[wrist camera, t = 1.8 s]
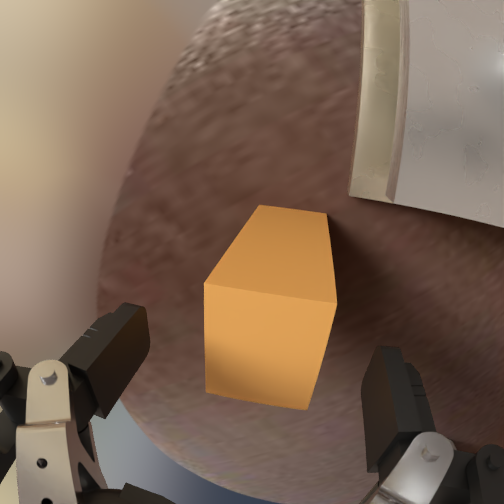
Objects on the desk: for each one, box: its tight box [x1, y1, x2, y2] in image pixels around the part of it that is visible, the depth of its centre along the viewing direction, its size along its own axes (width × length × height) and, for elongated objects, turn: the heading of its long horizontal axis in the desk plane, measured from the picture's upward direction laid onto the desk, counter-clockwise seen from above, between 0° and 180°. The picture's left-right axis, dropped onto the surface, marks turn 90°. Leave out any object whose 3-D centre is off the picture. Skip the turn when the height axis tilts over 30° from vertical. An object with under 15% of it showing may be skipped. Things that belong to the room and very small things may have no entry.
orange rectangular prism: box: [204, 205, 337, 410], centre depth 15 cm, size 4×5×10 cm
